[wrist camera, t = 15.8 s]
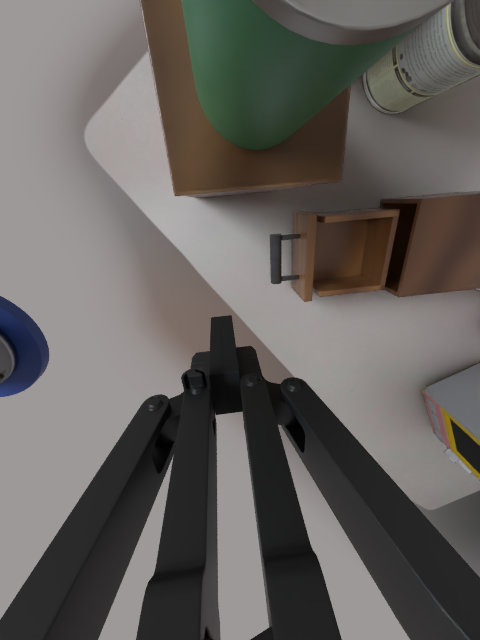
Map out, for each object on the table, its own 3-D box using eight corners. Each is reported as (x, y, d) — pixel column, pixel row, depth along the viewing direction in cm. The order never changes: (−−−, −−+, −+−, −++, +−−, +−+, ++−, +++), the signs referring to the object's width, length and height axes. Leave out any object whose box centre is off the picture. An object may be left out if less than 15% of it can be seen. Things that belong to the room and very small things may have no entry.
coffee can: (381, -10, 28) (522, -189, 15) (457, 18, 29) (641, -121, 17) (348, 104, 32) (437, 41, 19) (416, 123, 34) (538, 76, 21)
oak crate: (194, 198, 35) (174, 196, 17) (178, 86, 29) (123, -89, 12) (277, 191, 36) (341, 181, 18) (276, 80, 30) (368, -95, 12)
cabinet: (367, 281, 43) (398, 297, 36) (381, 199, 37) (421, 198, 30) (437, 273, 44) (482, 288, 37) (461, 191, 38) (520, 189, 31)
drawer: (266, 290, 41) (275, 305, 36) (264, 214, 36) (274, 217, 30) (360, 280, 42) (384, 293, 36) (371, 204, 37) (401, 205, 31)
